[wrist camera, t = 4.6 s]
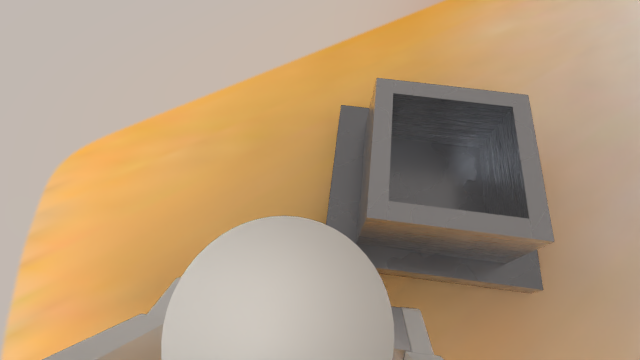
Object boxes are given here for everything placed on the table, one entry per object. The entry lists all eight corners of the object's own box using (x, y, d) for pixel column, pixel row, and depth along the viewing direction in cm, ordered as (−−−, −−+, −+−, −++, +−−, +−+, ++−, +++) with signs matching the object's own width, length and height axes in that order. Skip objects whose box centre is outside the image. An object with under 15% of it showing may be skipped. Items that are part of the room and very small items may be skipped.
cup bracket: (508, 135, 20) (557, 82, 16) (530, 293, 16) (601, 274, 12) (340, 115, 21) (346, 58, 17) (321, 265, 17) (324, 237, 13)
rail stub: (343, 306, 16) (397, 229, 6) (335, 396, 14) (390, 488, 5) (266, 295, 16) (199, 204, 6) (250, 384, 15) (124, 448, 5)
